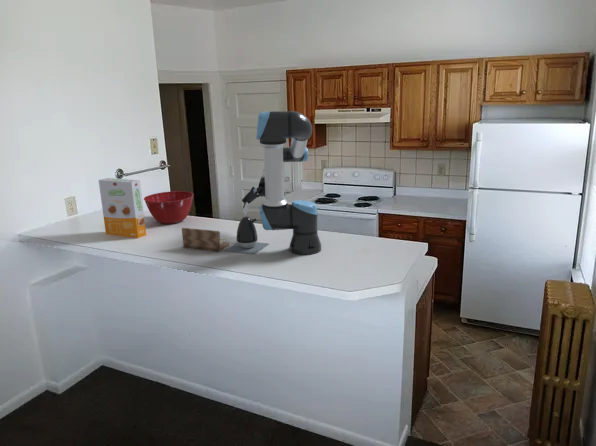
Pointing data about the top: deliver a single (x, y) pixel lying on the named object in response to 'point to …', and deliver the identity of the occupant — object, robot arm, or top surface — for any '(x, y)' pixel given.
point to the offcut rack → (203, 240)
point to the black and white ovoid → (247, 233)
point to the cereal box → (122, 207)
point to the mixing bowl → (169, 206)
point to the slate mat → (247, 250)
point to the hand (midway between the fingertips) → (256, 215)
